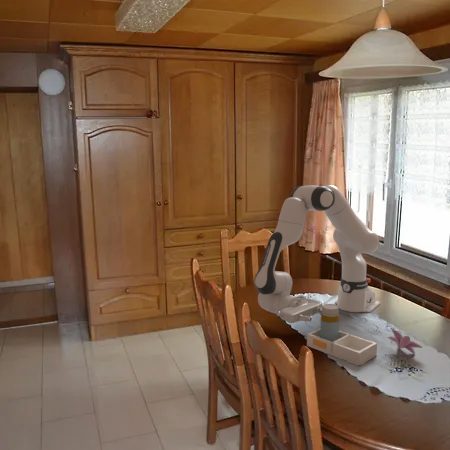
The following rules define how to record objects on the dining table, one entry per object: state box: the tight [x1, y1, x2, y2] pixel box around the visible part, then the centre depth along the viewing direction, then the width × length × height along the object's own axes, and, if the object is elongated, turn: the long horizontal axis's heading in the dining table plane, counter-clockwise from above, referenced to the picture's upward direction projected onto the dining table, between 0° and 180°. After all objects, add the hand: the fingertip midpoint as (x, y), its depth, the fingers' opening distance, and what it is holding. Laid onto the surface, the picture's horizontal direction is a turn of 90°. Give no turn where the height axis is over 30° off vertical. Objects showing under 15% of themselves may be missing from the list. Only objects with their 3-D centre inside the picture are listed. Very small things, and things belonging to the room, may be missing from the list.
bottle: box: [319, 303, 340, 342], centre depth 184 cm, size 7×7×15 cm
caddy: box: [306, 328, 378, 366], centre depth 180 cm, size 12×23×5 cm, turn 43°
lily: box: [387, 328, 423, 359], centre depth 176 cm, size 12×12×10 cm
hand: (317, 316), depth 187 cm, fingers open, 8 cm apart
